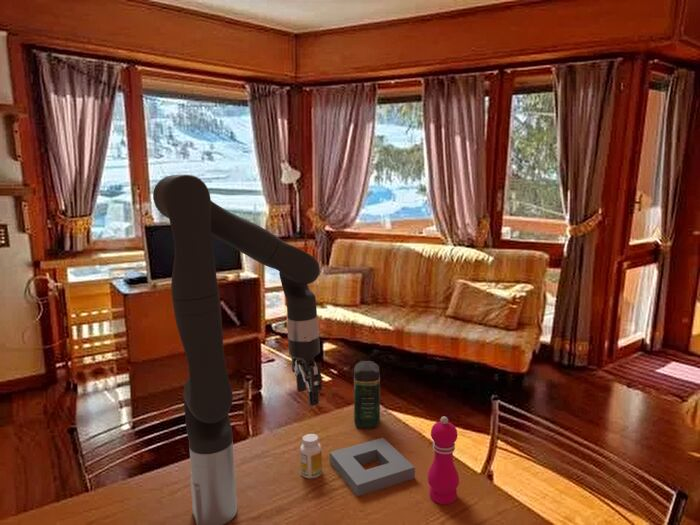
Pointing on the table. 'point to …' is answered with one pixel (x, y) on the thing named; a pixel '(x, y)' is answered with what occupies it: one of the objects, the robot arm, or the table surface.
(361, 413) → the coffee jar
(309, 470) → the supplement bottle
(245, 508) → the table surface
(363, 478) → the socket block
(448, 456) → the pepper mill
